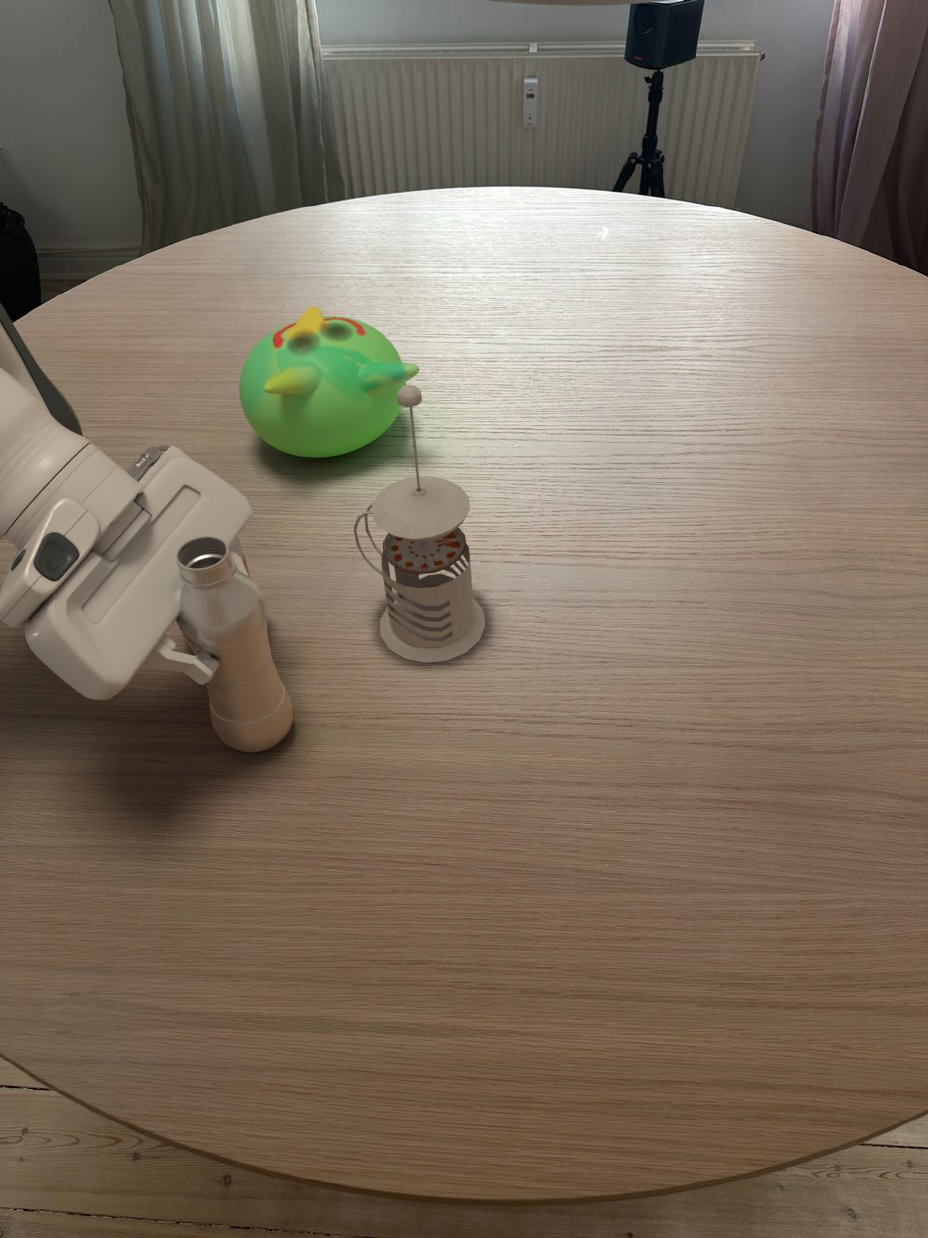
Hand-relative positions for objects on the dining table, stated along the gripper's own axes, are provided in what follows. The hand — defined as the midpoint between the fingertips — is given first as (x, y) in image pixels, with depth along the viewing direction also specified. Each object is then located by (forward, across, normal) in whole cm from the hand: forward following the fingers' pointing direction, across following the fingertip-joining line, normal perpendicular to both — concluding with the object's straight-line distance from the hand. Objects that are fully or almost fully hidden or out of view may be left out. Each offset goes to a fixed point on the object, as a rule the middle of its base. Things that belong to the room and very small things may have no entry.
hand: (235, 640), depth 74 cm
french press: (+14, -16, -3) cm, 22 cm away
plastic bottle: (+8, 0, -9) cm, 12 cm away
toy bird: (0, -40, -16) cm, 43 cm away
